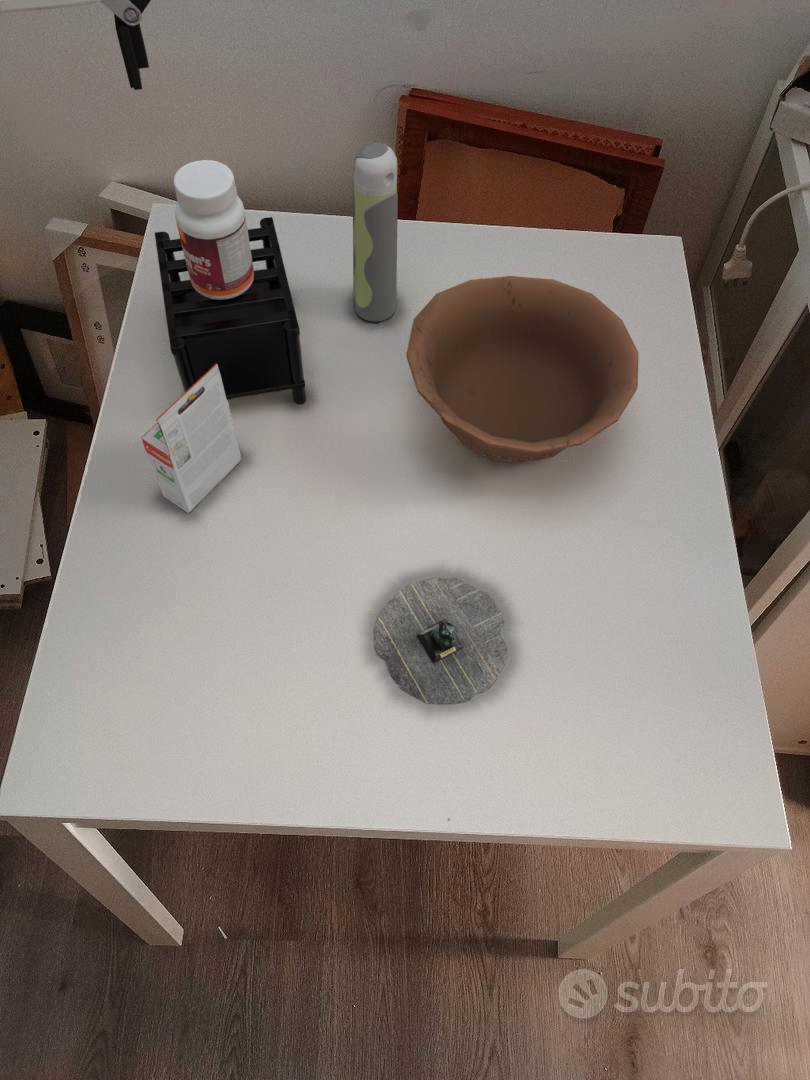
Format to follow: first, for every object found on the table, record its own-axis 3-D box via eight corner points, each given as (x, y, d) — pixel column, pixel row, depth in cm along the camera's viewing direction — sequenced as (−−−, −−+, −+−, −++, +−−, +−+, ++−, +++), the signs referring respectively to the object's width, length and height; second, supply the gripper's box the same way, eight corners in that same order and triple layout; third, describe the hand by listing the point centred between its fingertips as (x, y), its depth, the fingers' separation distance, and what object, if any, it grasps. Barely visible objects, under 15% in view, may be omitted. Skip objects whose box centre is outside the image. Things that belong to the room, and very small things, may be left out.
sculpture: (470, 728, 71) (419, 679, 67) (401, 708, 78) (350, 661, 73) (531, 615, 76) (486, 561, 71) (460, 605, 82) (415, 555, 78)
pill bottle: (178, 281, 80) (151, 179, 70) (223, 248, 83) (204, 145, 73) (222, 312, 78) (201, 212, 69) (268, 277, 81) (254, 176, 71)
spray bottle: (372, 330, 93) (372, 173, 75) (345, 306, 94) (338, 147, 77) (404, 310, 94) (412, 152, 77) (377, 286, 96) (378, 127, 79)
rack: (193, 422, 86) (170, 349, 76) (176, 312, 93) (154, 232, 84) (307, 403, 87) (299, 329, 78) (282, 296, 95) (272, 216, 85)
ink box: (162, 497, 81) (123, 402, 68) (216, 444, 84) (188, 343, 72) (190, 516, 80) (156, 422, 67) (244, 461, 83) (220, 362, 71)
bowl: (442, 323, 94) (450, 245, 84) (631, 378, 90) (662, 304, 81) (371, 472, 83) (371, 402, 74) (583, 541, 80) (611, 477, 71)
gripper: (-267, -225, 36) (-82, 136, 51) (136, -243, 39) (200, 105, 54) (-244, -289, 40) (-78, 66, 55) (124, -301, 42) (187, 41, 57)
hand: (60, 85), depth 54 cm, fingers open, 9 cm apart
